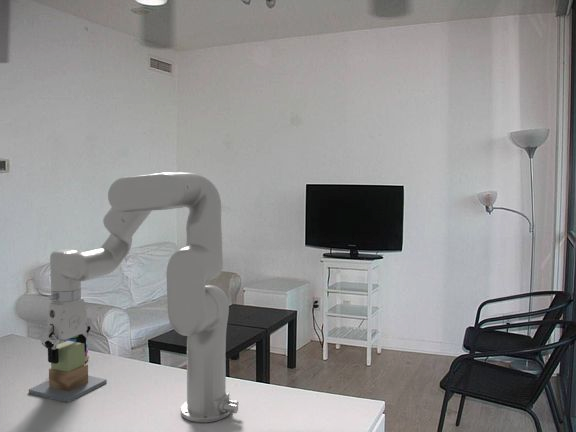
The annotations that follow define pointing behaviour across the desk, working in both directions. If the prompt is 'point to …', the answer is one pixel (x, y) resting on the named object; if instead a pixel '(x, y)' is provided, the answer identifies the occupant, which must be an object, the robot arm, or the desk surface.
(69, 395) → the baseplate
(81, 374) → the walnut block
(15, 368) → the desk surface
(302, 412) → the desk surface
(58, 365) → the olive block
